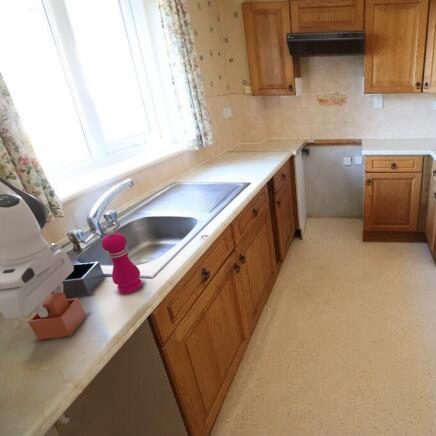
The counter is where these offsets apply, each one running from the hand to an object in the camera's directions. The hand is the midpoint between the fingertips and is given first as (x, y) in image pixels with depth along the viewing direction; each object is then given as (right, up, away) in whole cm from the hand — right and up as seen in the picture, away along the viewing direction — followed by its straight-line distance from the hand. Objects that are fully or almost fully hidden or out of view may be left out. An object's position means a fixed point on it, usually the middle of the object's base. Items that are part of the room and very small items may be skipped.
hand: (53, 307), depth 82 cm
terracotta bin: (0, -6, +3) cm, 7 cm away
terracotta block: (0, -1, +1) cm, 2 cm away
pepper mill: (+9, +1, +18) cm, 20 cm away
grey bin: (-7, +1, +18) cm, 20 cm away
